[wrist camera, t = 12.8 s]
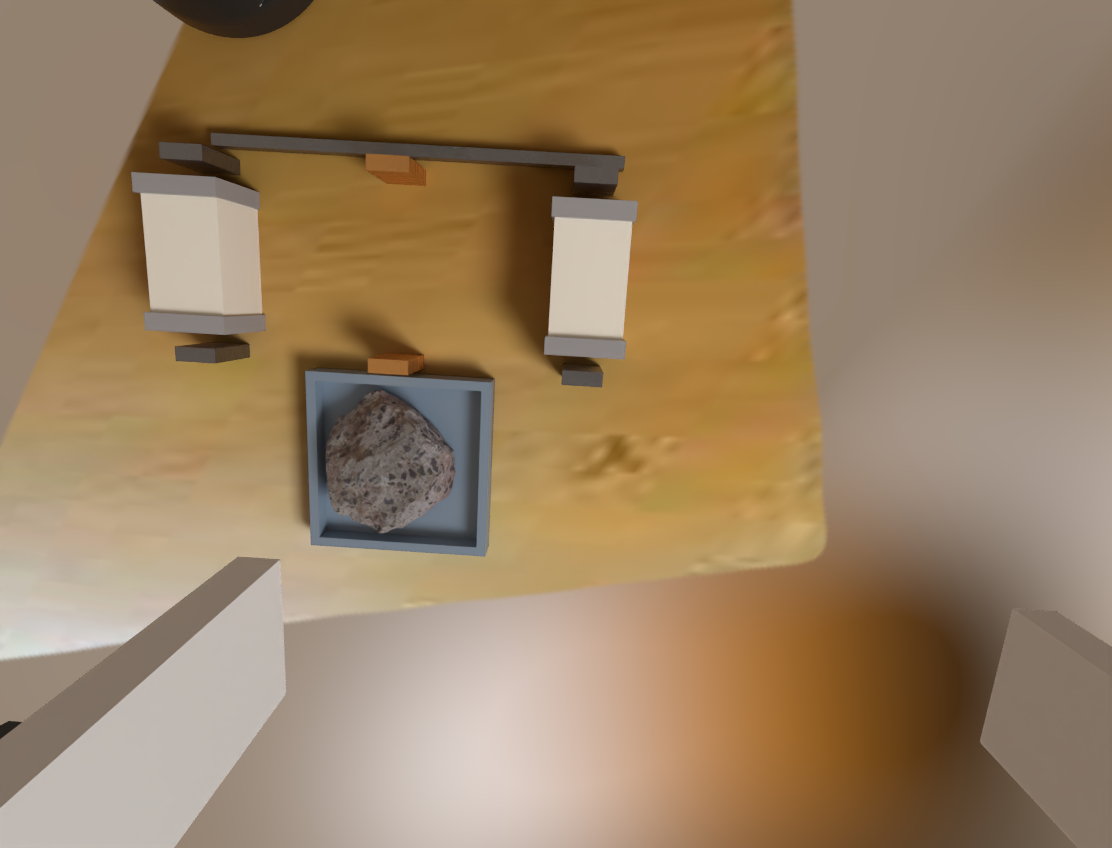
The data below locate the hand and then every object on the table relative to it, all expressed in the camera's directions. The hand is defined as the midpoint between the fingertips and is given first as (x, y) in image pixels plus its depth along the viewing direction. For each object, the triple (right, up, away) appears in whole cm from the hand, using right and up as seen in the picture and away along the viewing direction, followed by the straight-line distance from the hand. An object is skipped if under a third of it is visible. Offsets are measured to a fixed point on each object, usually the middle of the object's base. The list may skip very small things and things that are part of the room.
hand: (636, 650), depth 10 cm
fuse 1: (-26, +16, +33) cm, 45 cm away
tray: (-13, +1, +36) cm, 38 cm away
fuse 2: (+1, +15, +32) cm, 36 cm away
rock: (-14, +1, +35) cm, 38 cm away
